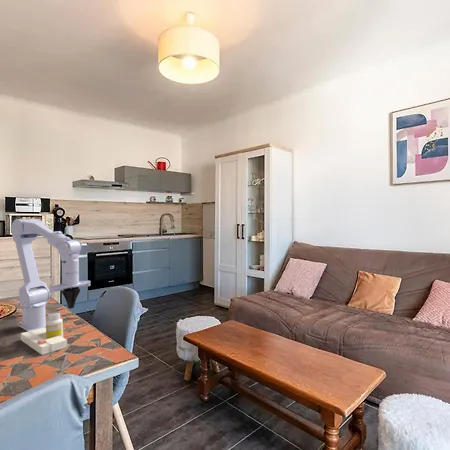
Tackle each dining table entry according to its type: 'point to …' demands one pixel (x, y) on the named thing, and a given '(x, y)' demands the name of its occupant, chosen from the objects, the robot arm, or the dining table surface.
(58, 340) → the socket dock
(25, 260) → the robot arm
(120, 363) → the dining table surface
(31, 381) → the dining table surface
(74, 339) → the dining table surface
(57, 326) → the supplement bottle
